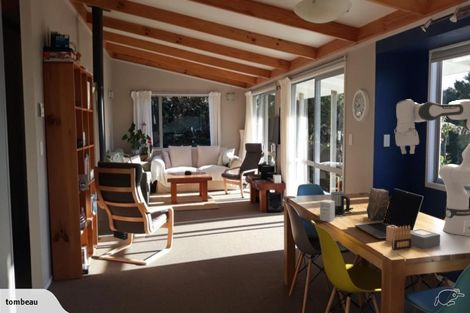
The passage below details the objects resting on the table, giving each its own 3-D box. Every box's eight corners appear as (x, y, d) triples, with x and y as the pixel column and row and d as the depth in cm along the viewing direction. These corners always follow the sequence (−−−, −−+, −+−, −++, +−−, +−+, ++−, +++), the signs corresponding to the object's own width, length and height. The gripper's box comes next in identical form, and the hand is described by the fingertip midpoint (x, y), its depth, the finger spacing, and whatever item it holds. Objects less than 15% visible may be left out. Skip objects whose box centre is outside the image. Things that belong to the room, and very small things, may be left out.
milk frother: (329, 214, 276) (329, 193, 274) (334, 209, 290) (334, 189, 288) (349, 216, 269) (350, 194, 268) (354, 211, 283) (354, 190, 281)
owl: (366, 216, 268) (366, 187, 266) (385, 216, 266) (386, 187, 264) (369, 221, 255) (370, 190, 253) (390, 221, 253) (391, 191, 251)
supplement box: (324, 217, 265) (324, 199, 264) (334, 219, 261) (335, 200, 260) (319, 220, 260) (319, 201, 259) (329, 221, 255) (330, 202, 254)
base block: (420, 239, 216) (420, 228, 216) (439, 245, 206) (440, 234, 205) (404, 242, 211) (404, 231, 211) (423, 249, 201) (424, 237, 200)
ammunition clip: (394, 250, 200) (394, 227, 199) (391, 249, 201) (392, 226, 200) (411, 247, 203) (412, 225, 202) (408, 246, 205) (409, 224, 203)
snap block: (392, 239, 217) (392, 224, 216) (399, 241, 213) (399, 226, 212) (386, 240, 215) (386, 225, 214) (392, 242, 211) (393, 227, 210)
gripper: (421, 127, 209) (423, 153, 209) (403, 129, 229) (405, 153, 229) (409, 128, 209) (411, 154, 209) (392, 130, 229) (394, 154, 229)
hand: (408, 153), depth 219 cm, fingers open, 8 cm apart
